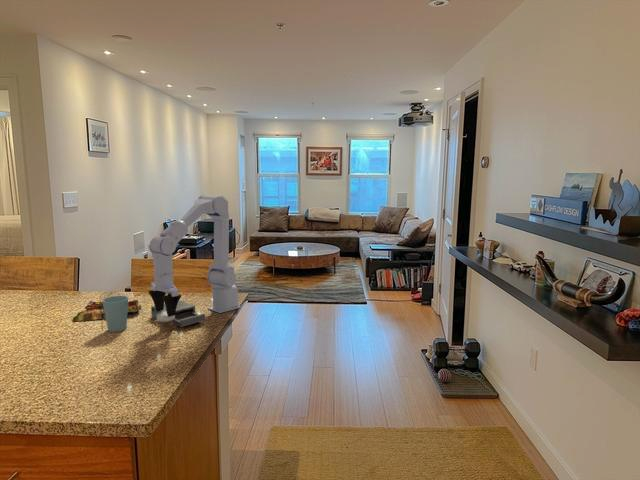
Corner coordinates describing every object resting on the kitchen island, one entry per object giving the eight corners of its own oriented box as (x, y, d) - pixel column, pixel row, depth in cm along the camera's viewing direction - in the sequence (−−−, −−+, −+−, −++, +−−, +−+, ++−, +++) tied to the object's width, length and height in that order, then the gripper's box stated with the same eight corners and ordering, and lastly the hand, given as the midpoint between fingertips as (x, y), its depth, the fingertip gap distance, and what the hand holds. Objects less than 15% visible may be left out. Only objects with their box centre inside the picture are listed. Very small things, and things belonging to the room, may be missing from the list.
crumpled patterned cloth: (145, 304, 163) (145, 295, 162) (137, 320, 145) (137, 311, 145) (85, 308, 157) (84, 299, 157) (68, 325, 140) (68, 316, 139)
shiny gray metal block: (179, 310, 154) (179, 299, 154) (195, 317, 147) (195, 305, 147) (151, 317, 146) (151, 306, 146) (166, 325, 139) (166, 313, 138)
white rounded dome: (169, 314, 138) (169, 310, 137) (178, 318, 134) (177, 314, 134) (153, 318, 133) (153, 314, 133) (161, 323, 130) (161, 318, 129)
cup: (130, 331, 133) (127, 300, 132) (103, 334, 130) (101, 303, 128) (130, 323, 140) (128, 294, 138) (105, 327, 137) (103, 297, 135)
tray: (189, 314, 147) (189, 307, 147) (205, 320, 141) (204, 314, 141) (167, 320, 141) (166, 313, 141) (181, 327, 134) (181, 320, 134)
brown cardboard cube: (168, 327, 136) (167, 316, 136) (173, 330, 134) (172, 318, 134) (160, 330, 134) (159, 318, 134) (164, 332, 132) (163, 321, 132)
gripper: (141, 271, 133) (143, 311, 135) (162, 278, 124) (164, 321, 126) (161, 268, 138) (163, 306, 140) (183, 275, 129) (185, 316, 131)
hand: (165, 313), depth 133 cm, fingers open, 7 cm apart
